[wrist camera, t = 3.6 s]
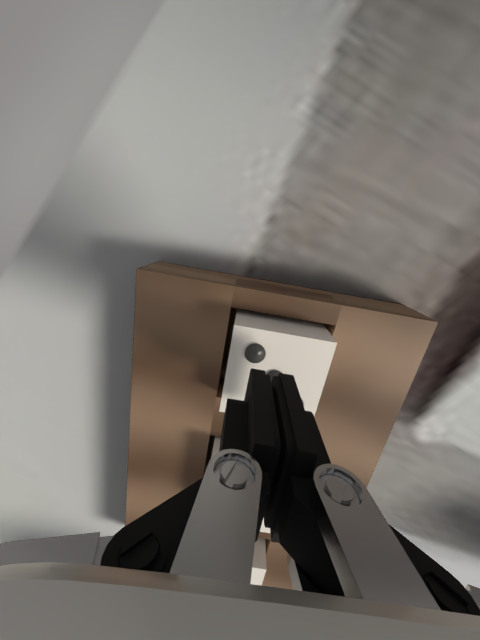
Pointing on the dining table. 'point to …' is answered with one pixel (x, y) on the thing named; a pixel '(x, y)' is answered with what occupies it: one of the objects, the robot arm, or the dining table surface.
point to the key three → (278, 354)
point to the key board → (210, 369)
